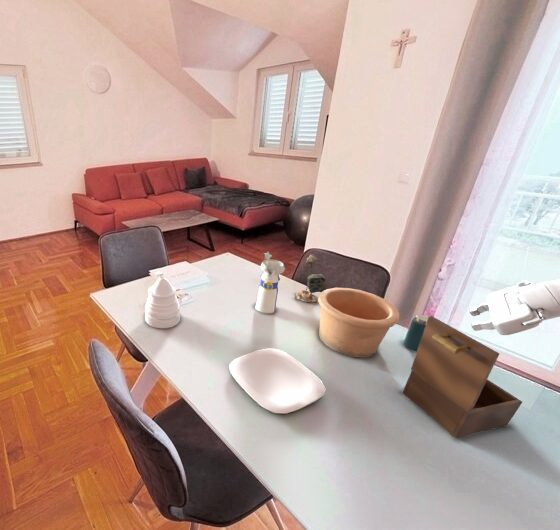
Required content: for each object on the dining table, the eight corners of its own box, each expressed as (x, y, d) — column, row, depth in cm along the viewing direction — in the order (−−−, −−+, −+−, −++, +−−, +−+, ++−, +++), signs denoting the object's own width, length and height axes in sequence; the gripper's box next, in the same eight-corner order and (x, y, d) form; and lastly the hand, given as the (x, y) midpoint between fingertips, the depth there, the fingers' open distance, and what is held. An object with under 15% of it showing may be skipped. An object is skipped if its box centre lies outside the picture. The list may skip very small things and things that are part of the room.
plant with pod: (322, 307, 123) (333, 260, 115) (291, 299, 129) (300, 254, 120) (324, 298, 129) (335, 253, 121) (295, 291, 135) (304, 248, 127)
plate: (272, 425, 75) (273, 420, 74) (219, 367, 92) (220, 363, 92) (335, 395, 83) (336, 390, 82) (275, 347, 101) (276, 342, 100)
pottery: (311, 316, 117) (319, 282, 111) (380, 331, 109) (392, 295, 103) (309, 351, 99) (318, 312, 93) (391, 372, 91) (408, 331, 85)
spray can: (411, 340, 104) (423, 312, 100) (427, 350, 99) (439, 321, 95) (399, 342, 103) (410, 314, 99) (413, 352, 98) (425, 323, 94)
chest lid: (431, 315, 73) (415, 319, 73) (499, 353, 61) (481, 358, 61) (413, 368, 80) (398, 372, 80) (471, 411, 68) (455, 416, 68)
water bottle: (275, 316, 117) (287, 254, 107) (252, 311, 120) (261, 251, 110) (278, 305, 124) (289, 247, 114) (256, 301, 127) (264, 243, 117)
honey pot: (138, 315, 118) (137, 272, 111) (167, 305, 124) (167, 264, 117) (157, 332, 108) (156, 286, 101) (186, 321, 114) (188, 277, 107)
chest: (448, 383, 87) (459, 361, 84) (507, 425, 75) (522, 401, 71) (402, 392, 84) (411, 370, 81) (455, 438, 72) (469, 413, 68)
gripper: (557, 331, 72) (481, 347, 82) (539, 297, 87) (476, 314, 96) (539, 308, 73) (466, 326, 83) (523, 278, 87) (462, 297, 97)
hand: (471, 320), depth 90 cm, fingers open, 8 cm apart
